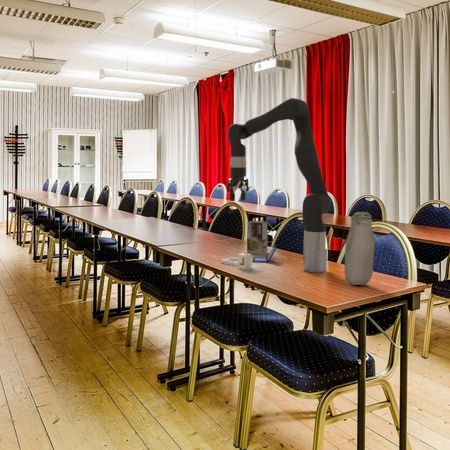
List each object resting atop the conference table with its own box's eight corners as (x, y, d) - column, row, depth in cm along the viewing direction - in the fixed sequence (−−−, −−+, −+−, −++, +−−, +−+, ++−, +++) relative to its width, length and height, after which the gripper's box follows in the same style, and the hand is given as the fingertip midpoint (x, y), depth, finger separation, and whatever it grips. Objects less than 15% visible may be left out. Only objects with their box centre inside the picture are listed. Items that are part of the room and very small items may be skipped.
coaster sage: (264, 267, 214) (264, 266, 214) (256, 269, 210) (256, 268, 209) (254, 265, 218) (254, 264, 218) (245, 267, 214) (245, 266, 213)
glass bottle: (360, 289, 178) (364, 213, 175) (338, 284, 186) (342, 211, 183) (377, 286, 184) (381, 212, 181) (355, 280, 192) (359, 210, 189)
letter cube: (251, 267, 210) (251, 254, 209) (245, 269, 207) (245, 255, 206) (244, 266, 213) (244, 252, 212) (237, 267, 210) (238, 253, 209)
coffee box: (267, 252, 251) (268, 221, 249) (261, 254, 246) (262, 222, 244) (252, 250, 256) (253, 220, 254) (246, 252, 251) (246, 221, 249)
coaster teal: (254, 269, 210) (254, 267, 210) (245, 271, 206) (245, 270, 206) (243, 267, 214) (243, 265, 214) (234, 269, 210) (234, 267, 210)
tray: (248, 264, 221) (249, 260, 220) (235, 267, 214) (235, 262, 214) (234, 261, 227) (234, 257, 226) (220, 264, 220) (220, 259, 220)
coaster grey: (264, 272, 204) (264, 271, 204) (255, 274, 200) (255, 273, 200) (253, 270, 208) (253, 269, 208) (244, 272, 204) (244, 271, 204)
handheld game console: (253, 259, 235) (253, 243, 234) (275, 259, 234) (275, 244, 233) (251, 264, 222) (252, 248, 221) (275, 265, 221) (275, 249, 220)
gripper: (235, 166, 224) (235, 201, 226) (253, 166, 235) (252, 200, 237) (222, 166, 228) (222, 201, 230) (240, 166, 240) (240, 199, 242)
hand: (237, 200), depth 234 cm, fingers open, 8 cm apart
